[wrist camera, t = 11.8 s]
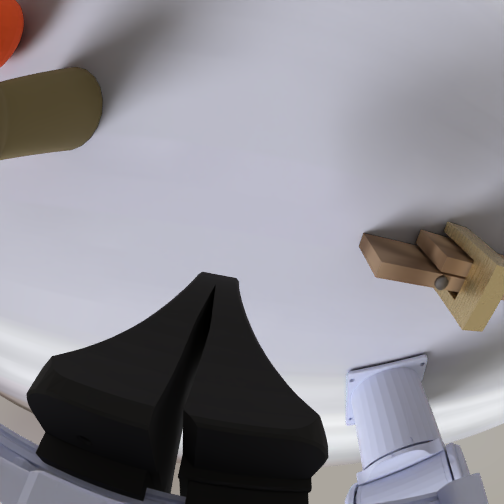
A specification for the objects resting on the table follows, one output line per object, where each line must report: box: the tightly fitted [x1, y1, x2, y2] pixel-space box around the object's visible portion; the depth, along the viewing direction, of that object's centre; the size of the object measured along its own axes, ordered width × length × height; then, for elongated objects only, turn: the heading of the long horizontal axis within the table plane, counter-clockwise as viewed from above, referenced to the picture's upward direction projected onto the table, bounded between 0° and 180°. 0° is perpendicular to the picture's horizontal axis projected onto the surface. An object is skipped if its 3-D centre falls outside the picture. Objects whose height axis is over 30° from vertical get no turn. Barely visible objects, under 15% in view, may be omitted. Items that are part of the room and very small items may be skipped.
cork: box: [0, 67, 103, 160], centre depth 12 cm, size 6×6×11 cm
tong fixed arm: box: [359, 233, 504, 300], centre depth 18 cm, size 18×1×4 cm, turn 80°
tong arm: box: [416, 230, 504, 277], centre depth 18 cm, size 14×1×4 cm, turn 79°
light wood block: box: [434, 222, 504, 331], centre depth 17 cm, size 2×4×6 cm, turn 170°
